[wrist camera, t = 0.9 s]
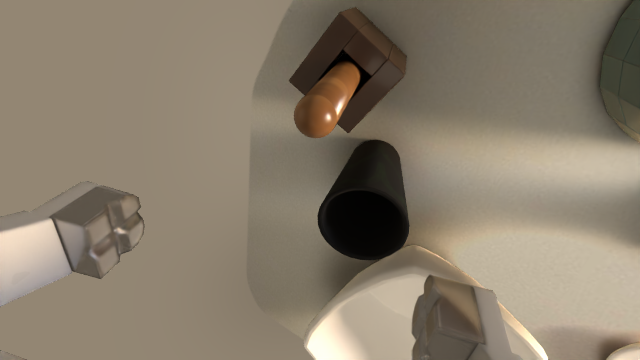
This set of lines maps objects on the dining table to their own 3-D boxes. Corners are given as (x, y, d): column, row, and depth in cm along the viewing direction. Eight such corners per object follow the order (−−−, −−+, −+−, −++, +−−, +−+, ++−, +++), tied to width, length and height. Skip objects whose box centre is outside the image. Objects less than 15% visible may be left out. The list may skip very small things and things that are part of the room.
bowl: (305, 273, 49) (279, 343, 40) (412, 179, 38) (412, 246, 28) (417, 353, 52) (418, 437, 43) (548, 288, 41) (591, 383, 31)
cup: (330, 146, 38) (301, 203, 28) (392, 119, 35) (384, 172, 25) (360, 199, 41) (343, 269, 31) (420, 178, 38) (424, 248, 27)
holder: (312, 62, 34) (288, 81, 27) (355, 6, 31) (340, 11, 24) (360, 105, 35) (348, 134, 28) (407, 56, 32) (405, 74, 25)
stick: (341, 60, 33) (279, 124, 18) (357, 41, 32) (306, 91, 17) (359, 77, 34) (313, 153, 18) (375, 58, 32) (341, 123, 17)
